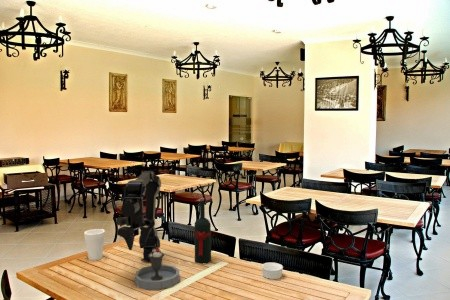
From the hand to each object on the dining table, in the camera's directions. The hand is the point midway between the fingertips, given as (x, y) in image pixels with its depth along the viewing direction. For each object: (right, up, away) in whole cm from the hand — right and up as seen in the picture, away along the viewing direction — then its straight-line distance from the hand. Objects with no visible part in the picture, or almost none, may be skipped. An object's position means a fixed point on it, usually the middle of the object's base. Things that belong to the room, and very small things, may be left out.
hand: (137, 246), depth 164 cm
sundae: (+9, -12, -4) cm, 16 cm away
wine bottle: (+27, -12, +17) cm, 34 cm away
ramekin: (+57, -13, 0) cm, 59 cm away
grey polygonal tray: (+9, -13, -3) cm, 16 cm away
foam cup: (-26, -12, +23) cm, 37 cm away
